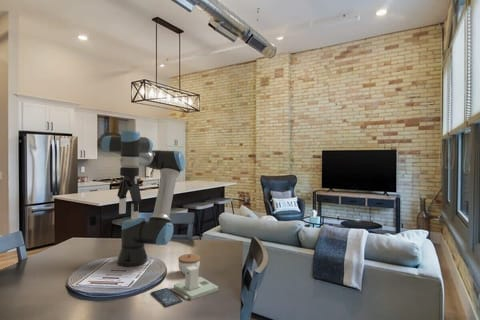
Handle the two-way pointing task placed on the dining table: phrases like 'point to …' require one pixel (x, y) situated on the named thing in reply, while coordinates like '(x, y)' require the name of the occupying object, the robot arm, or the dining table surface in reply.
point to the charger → (191, 278)
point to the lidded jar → (188, 261)
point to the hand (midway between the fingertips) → (128, 216)
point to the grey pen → (177, 293)
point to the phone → (166, 297)
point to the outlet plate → (203, 289)
